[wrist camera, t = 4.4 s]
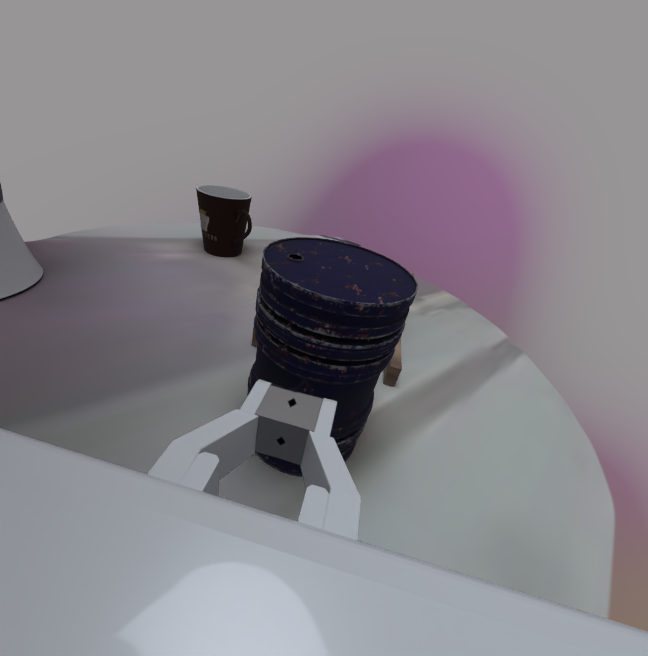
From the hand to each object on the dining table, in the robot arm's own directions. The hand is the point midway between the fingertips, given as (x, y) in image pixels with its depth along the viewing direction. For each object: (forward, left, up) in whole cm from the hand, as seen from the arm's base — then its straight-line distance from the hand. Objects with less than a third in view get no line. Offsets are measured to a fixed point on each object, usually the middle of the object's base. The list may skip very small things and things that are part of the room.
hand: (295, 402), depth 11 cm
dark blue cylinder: (+3, +10, -13) cm, 17 cm away
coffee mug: (-8, +47, -13) cm, 49 cm away
